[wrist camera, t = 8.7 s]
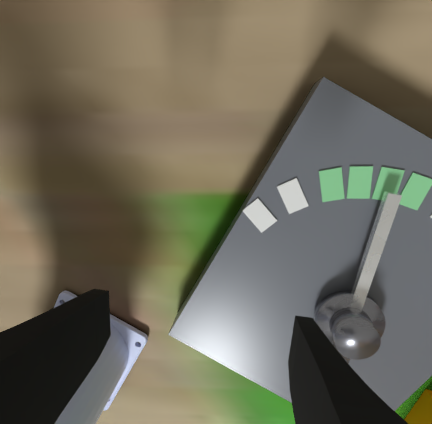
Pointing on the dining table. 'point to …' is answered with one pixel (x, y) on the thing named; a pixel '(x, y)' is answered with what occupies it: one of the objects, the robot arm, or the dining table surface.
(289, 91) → the dining table surface
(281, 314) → the dial plate
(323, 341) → the robot arm
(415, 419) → the orange juice
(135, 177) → the dining table surface
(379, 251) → the dial pointer
